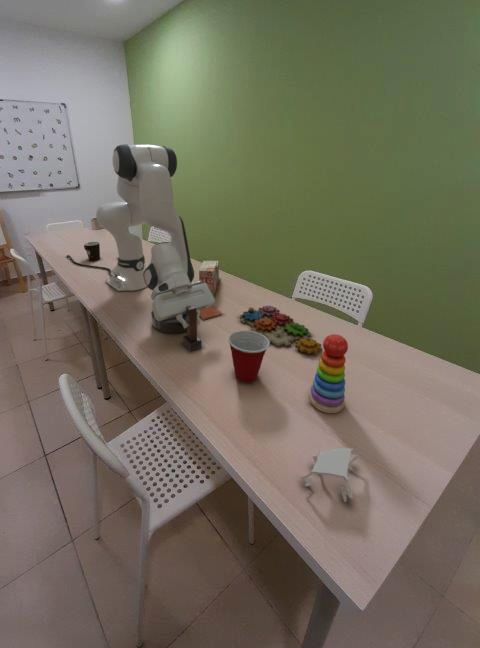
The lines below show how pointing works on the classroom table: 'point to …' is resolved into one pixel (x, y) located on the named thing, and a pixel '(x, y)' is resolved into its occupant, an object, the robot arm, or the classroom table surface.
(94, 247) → the coffee mug
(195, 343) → the brown post with base
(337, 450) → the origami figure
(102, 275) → the classroom table surface
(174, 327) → the pan
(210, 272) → the food box
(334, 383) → the stacking toy
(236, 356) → the plastic cup
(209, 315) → the plate
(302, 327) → the gear puzzle
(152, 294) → the robot arm
